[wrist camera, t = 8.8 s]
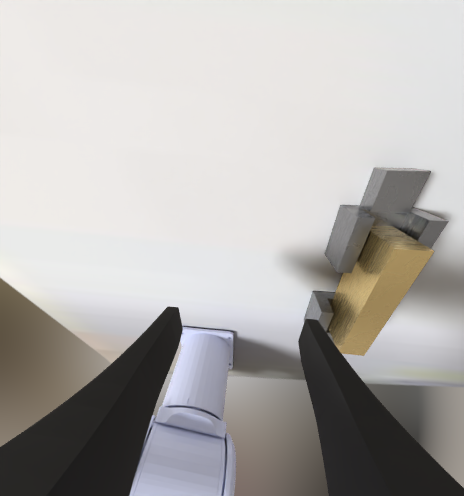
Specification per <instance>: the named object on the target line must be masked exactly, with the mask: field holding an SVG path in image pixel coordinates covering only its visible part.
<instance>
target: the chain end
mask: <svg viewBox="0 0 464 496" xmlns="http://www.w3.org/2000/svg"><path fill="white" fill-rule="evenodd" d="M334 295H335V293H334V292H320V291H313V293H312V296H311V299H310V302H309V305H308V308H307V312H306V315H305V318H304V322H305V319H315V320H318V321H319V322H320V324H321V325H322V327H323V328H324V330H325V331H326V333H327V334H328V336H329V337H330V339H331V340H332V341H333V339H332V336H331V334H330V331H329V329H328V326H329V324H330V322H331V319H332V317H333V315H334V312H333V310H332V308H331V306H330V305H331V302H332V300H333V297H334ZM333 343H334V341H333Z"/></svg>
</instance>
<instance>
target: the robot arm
mask: <svg viewBox="0 0 464 496" xmlns="http://www.w3.org/2000/svg"><path fill="white" fill-rule="evenodd" d="M233 336H234V334H233V332H230V331H219V330H209V329H199V328H188V327H182V323H181V318H180V313H179V309H178V307H167V308H166V309H165V310H164V311H163V312H162V314H161V315H160V316H159V317H158V318H157V319H156V320H155V321H154V322H153V323H152V325H151V326H150V327H149V328H148V329H147V330H146V331H145V332H144V333H143V334H142V335H141V336H140V337H139V338H138V339H137V340H136V341H135V342H134V343H133V344H132V345H131V346H130V347H129V348H128V349H127V350H126V351H125V352H124V353H123V354H122V355H121V356H120V357H119V358H117V359H116V360H115V361H114V362H113V363H112V364H111V365H110V366H109V367H107V368H106V369H105V370H104V371H103V372H102V373H101V374H99V375H98V376H97V377H96V378H95V379H93V380H92V381H91V382H90V383H88V384H87V385H86V386H85V387H83V388H82V389H81V390H80V391H78V392H77V393H76V394H75V395H73V396H72V397H71V398H69V399H68V400H67V401H65V402H64V403H63V404H61V405H60V406H59V407H57V408H56V409H55V410H53V411H52V412H50V413H49V414H48V415H46V416H45V417H43V418H42V419H41V420H40V421H38V422H37V423H35V424H34V425H32V426H31V427H29V428H28V429H27V430H25V431H24V432H22V433H21V434H19V435H18V436H16V437H15V438H13V439H12V440H10V441H9V442H7V443H6V444H4V445H3V446H1V447H0V496H234V490H235V477H236V454H235V447H234V444H233V441H232V439H231V436H230V434H228V433H226V424H227V423H226V422H223V413H224V404H225V394H226V385H227V377H228V369H232V368H233ZM180 340H181V345H182V349H181V352H180V355H179V358H178V361H177V364H176V367H175V370H174V372H173V376H172V378H171V381H170V384H169V387H168V390H167V393H166V396H165V398H164V401H163V404H162V407H160V408H159V410H158V413H157V416H156V419H155V416H154V415H153V412H154V408H155V405H156V402H157V399H158V397H159V394H160V391H161V389H162V386H163V384H164V381H165V379H166V376H167V374H168V371H169V369H170V366H171V364H172V361H173V359H174V356H175V354H176V351H177V349H178V346H179V342H180ZM298 342H299V349H300V356H301V362H302V366H303V370H304V374H305V378H306V382H307V385H308V389H309V393H310V397H311V401H312V404H313V409H314V413H315V417H316V422H317V426H318V432H319V438H320V443H321V449H322V455H323V460H324V467H325V473H326V479H327V485H328V493H329V496H464V488H463V487H462V486H461V485H460V484H459V483H458V482H456V481H455V479H454V478H452V477H451V476H450V475H449V474H448V473H447V472H446V471H445V470H444V469H443V468H442V467H441V466H440V465H439V464H438V463H437V462H436V461H435V460H434V459H433V458H432V457H431V456H430V454H429V453H428V452H426V450H425V449H423V447H421V445H420V444H419V443H418V442H417V441H416V440H415V439H414V438H413V437H412V436H411V435H410V434H409V433H408V432H407V431H406V430H405V429H404V428H403V427H402V426H401V425H400V423H399V422H398V421H397V420H396V419H395V418H394V417H393V416H392V415H391V414H390V412H389V411H388V410H387V409H386V408H385V407H384V406H383V405H382V403H381V402H380V401H379V400H378V399H377V398H376V397H375V395H374V394H373V393H372V392H371V391H370V390H369V388H368V387H367V386H366V385H365V383H364V382H363V381H362V380H361V378H360V377H359V376H358V375H357V373H356V372H355V371H354V370H353V368H352V367H351V366H350V364H349V363H348V362H347V360H346V359H345V358H344V356H343V355H342V354H341V352H340V351H339V350H338V348H337V347H336V346H335V344H334V343H333V341H332V340H331V339H330V337H329V336H328V334H327V333H326V331H325V330H324V328H323V327H322V325H321V324H320V322H319V321H318V320H315V319H305V322H304V325H303V329H302V332H301V335H300V338H299V341H298Z"/></svg>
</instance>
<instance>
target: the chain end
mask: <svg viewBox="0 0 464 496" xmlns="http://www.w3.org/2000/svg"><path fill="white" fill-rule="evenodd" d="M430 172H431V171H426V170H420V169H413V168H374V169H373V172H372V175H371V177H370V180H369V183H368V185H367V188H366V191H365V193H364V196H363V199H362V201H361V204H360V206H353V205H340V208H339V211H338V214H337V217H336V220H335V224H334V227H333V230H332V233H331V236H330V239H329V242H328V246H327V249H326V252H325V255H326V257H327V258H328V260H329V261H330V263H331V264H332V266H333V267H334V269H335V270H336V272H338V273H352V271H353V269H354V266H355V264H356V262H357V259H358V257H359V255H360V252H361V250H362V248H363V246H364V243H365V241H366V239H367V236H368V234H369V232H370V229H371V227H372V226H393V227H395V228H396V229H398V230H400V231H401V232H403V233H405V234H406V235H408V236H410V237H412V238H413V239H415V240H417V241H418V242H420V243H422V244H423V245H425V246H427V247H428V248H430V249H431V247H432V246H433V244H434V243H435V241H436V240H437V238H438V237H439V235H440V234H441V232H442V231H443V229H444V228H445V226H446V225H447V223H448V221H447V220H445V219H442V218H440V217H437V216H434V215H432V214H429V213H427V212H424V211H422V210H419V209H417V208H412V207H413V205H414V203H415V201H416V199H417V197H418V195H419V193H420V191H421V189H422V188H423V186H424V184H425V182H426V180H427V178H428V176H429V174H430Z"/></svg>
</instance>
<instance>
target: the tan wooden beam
mask: <svg viewBox="0 0 464 496" xmlns="http://www.w3.org/2000/svg"><path fill="white" fill-rule="evenodd" d="M433 253H434V251H433V250H432V249H430V248H428V247H427V246H425V245H423V244H422V243H420V242H418V241H417V240H415V239H413V238H412V237H410V236H408V235H406V234H405V233H403V232H401V231H400V230H398V229H396V228H395V227H393V226H372V227H371V229H370V232H369V234H368V236H367V239H366V241H365V243H364V246H363V248H362V250H361V252H360V255H359V257H358V259H357V262H356V264H355V266H354V269H353V271H352V273H343V275H342V277H341V280H340V282H339V285H338V287H337V290H336V292H335V295H334V297H333V300H332V302H331V305H330V306H331V308H332V310H333V312H334V315H333V317H332V319H331V322H330V324H329V326H328V329H329V331H330V334H331V336H332V339H333V341H334V344H335V346H336V347H337V348H338V350H339V351H340V352H341V353H343V354H353V355H362V356H364V355H365V353H366V352H367V350H368V349H369V347H370V346H371V344H372V343H373V341H374V340H375V338H376V337H377V336H378V334H379V333H380V331H381V330H382V328H383V327H384V325H385V324H386V322H387V321H388V319H389V318H390V316H391V315H392V313H393V312H394V310H395V309H396V307H397V306H398V304H399V303H400V301H401V300H402V299H403V297H404V296H405V294H406V293H407V291H408V290H409V288H410V287H411V285H412V284H413V282H414V281H415V279H416V278H417V276H418V275H419V273H420V272H421V270H422V269H423V267H424V266H425V264H426V263H427V262H428V260H429V259H430V257H431V256H432V254H433Z"/></svg>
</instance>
